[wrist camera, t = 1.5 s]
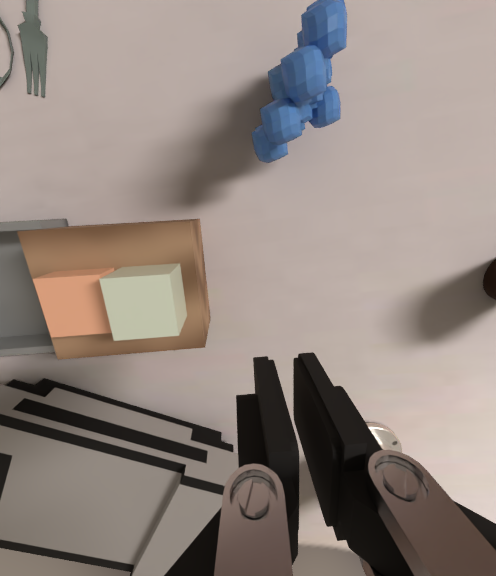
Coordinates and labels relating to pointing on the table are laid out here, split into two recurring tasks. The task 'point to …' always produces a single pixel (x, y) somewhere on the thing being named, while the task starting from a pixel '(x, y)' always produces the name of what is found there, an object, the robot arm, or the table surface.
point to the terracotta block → (73, 302)
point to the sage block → (145, 301)
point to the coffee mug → (490, 280)
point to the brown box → (125, 253)
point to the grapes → (303, 82)
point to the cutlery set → (31, 48)
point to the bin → (21, 294)
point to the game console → (104, 478)
